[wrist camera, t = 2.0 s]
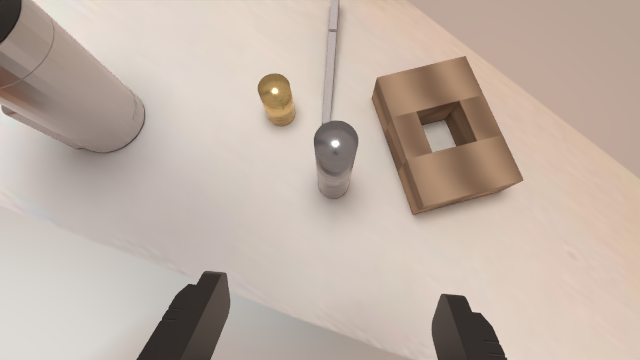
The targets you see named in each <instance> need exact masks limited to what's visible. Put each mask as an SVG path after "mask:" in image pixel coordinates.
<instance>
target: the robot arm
mask: <svg viewBox="0 0 640 360" xmlns="http://www.w3.org/2000/svg"><path fill="white" fill-rule="evenodd" d="M0 104H1V105H2V111H3V113H4V114H6V115H7V116H10V117H12V118H14V119H16V120H18V121H20V122H22V123H24V124H26V125H28V126H30V127H32V128H34V129H36V130H38V131H40V132H42V133H44V134H46V135H48V136H51V137H53V138H55V139H57V140H59V141H61V142H63V143H65V144H67V145H69V146H71V147H73V148H75V149H79V148H86V149H89V150H91V151H94V152H110V151H115V150H117V149H119V148H122V147H124V146H125V145H127V144H128V143H130V142H131V141H132V140H133V139H134V138H135V137H136V135H137V134H138V133H139V131H140V129H141V127H142V125H143V121H144V107H143V104H142V103H141V101H140V99H139V98H138V97H137V96H136V95H135V94H134V93H133V92H132V91H131V90H129V89H128V88H127V87H126V86H125V85H124V84H123V83H122V82H121V81H120V80H119V79H118V78H117V77H116V76H114V75H113V74H112V73H111V72H110V71H109V70H108V69H107V68H106V67H105V66H104V65H102V64H101V63H100V62H99V61H98V60H97V59H96V58H95V57H94V56H93V55H92V54H90V53H89V52H88V51H87V50H86V49H85V48H84V47H83V46H82V45H81V44H80V43H78V42H77V41H76V40H75V39H74V38H73V37H72V36H71V35H70V34H69V33H68V32H66V31H65V30H64V29H63V28H62V27H61V26H60V25H59V24H58V23H57V22H56V21H55V20H53V19H52V18H51V17H50V16H49V15H48V14H47V13H46V12H45V11H43V10H42V9H41V8H40V7H39V6H38V5H37V4H36V3H35V2H34V1H33V0H0ZM229 308H230V295H229V288H228V281H227V275H226V273H223V272H213V271H205V272H204V273H203V274H202V276H201V278H200V279H199V281H198V283H197V285H192V284H188V285H187V286H186V287H185V288H183V289H182V290H181V291H180V292H179V293H178V294H177V295H176V296H175V298H174V299H173V301H172V303H171V305H170V306H169V309H168V310H167V311H166V313H165V314H164V316H163V317H162V321H160V322H159V324H158V326H157V327H156V329H155V331H154V332H153V334H152V335H151V337H150V339H149V341H148V342H147V343H146V345H145V347H144V349H143V350H142V352H141V353H140V355H139V357H138V358H137V360H210V359H211V357H212V354H213V352H214V349H215V347H216V344H217V342H218V339H219V337H220V334H221V332H222V329H223V327H224V324H225V322H226V319H227V317H228V314H229ZM432 337H433V342H434V346H435V350H436V354H437V358H438V360H507V358H505V353H504V351H503V349H502V347H501V345H499V340H498V338H497V336H496V334H495V331H494V329H493V327H492V326H491V325H490V323H489V322H488V321H487V320H486V319H485V318H484V317H483V315H482V314H481V313H475V312H472V311H471V308H470V306H469V303H468V301H467V299H466V297H465V296H461V295H450V294H442V295H441V296H440V299H439V302H438V305H437V308H436V311H435V314H434V317H433V321H432Z"/></svg>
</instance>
